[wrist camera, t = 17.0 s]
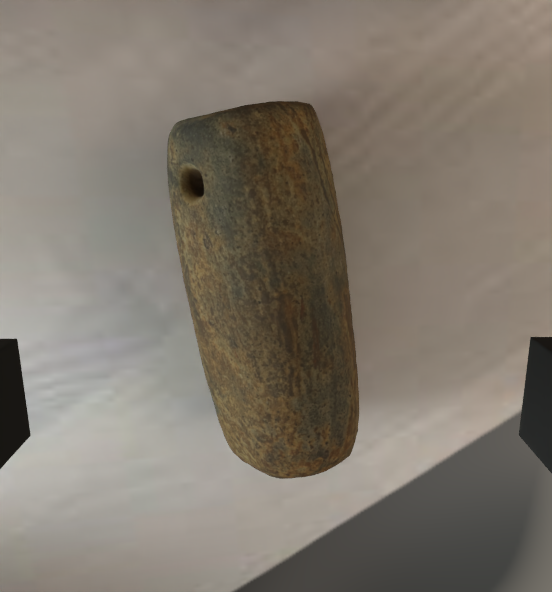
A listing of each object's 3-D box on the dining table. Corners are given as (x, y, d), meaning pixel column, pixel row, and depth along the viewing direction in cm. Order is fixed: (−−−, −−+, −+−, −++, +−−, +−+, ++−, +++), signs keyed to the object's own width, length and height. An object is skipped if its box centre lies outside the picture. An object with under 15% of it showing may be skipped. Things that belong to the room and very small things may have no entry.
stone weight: (155, 135, 23) (110, 128, 17) (309, 98, 23) (322, 75, 17) (237, 431, 27) (225, 517, 21) (370, 404, 27) (401, 482, 20)
